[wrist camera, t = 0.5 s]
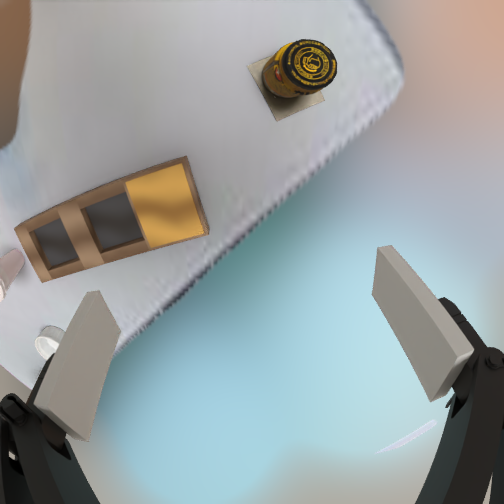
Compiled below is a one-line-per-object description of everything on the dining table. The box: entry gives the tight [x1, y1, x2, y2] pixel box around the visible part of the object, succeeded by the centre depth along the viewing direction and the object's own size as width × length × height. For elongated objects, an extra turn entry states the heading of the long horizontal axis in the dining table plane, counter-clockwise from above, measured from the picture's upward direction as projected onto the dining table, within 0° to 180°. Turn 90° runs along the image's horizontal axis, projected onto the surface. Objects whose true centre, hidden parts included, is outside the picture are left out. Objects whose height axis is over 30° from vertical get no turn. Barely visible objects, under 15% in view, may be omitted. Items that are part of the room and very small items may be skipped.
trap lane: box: [14, 156, 209, 283], centre depth 38 cm, size 11×32×2 cm, turn 104°
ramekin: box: [35, 326, 65, 360], centre depth 47 cm, size 9×9×4 cm
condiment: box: [247, 39, 337, 121], centre depth 27 cm, size 7×8×12 cm
